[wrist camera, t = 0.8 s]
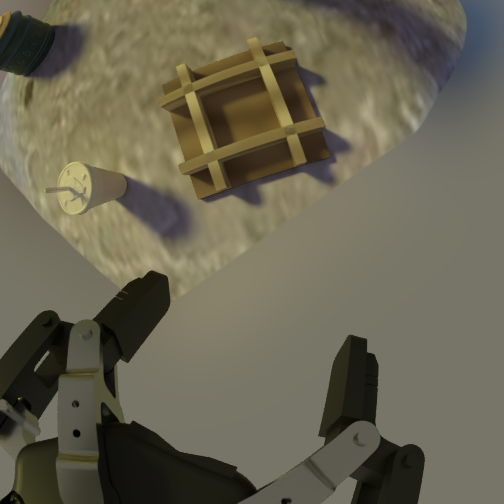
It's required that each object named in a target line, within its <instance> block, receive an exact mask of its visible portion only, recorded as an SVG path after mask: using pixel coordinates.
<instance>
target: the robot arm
mask: <svg viewBox="0 0 504 504" xmlns="http://www.w3.org/2000/svg"><path fill="white" fill-rule="evenodd" d="M169 306H170V292H169V283H168V277H167V276H166V275H163V274H161V273H158V272H155V271H153V270H152V271H149V272H148V273H147V274H146V275H145V276H144V277H143V278H137V279H135V280H133V281H131V282H129V283H128V284H127V285H126V286H125V287H124V288H123V289H122V290H121V292H119V293H118V294H117V295H116V297H114V298H113V299H112V300H111V301H110V302H109V303H108V304H107V305H106V306H105V307H104V308H103V310H101V312H100V313H99V314H98V315H97V316H96V317H95V318H94V319H93V320H88V319H87V320H81V321H79V322H78V323H76V324H73V323H68V322H64V321H61V320H60V318H59V316H58V314H57V313H56V312H54V311H51V310H48V311H44V312H42V313H40V314H39V315H38V316H37V317H36V318H35V319H34V320H33V321H32V322H31V323H30V325H29V326H28V327H27V328H26V329H25V330H24V331H23V333H22V334H21V335H20V336H19V337H18V339H17V340H16V341H15V342H14V343H13V344H12V345H11V347H10V348H9V349H8V350H7V352H6V353H5V354H4V356H3V357H2V358H1V359H0V445H1V446H2V447H3V448H4V449H5V451H6V452H7V453H8V454H9V455H10V456H11V457H12V458H13V459H14V460H15V461H16V463H15V464H16V465H15V480H14V484H13V488H12V490H11V492H10V493H9V494H8V495H7V496H6V497H4V498H3V499H2V500H0V504H320V503H322V502H323V501H324V500H325V499H327V498H328V497H329V496H331V495H332V494H333V492H334V491H335V489H336V487H337V486H338V485H339V484H340V483H341V482H343V481H344V480H345V479H346V478H347V477H348V476H349V477H352V478H354V479H356V480H358V481H357V484H356V488H355V491H354V495H353V498H352V501H351V504H417V503H418V498H419V493H420V488H421V483H422V477H423V470H424V462H425V457H424V453H423V451H422V450H421V448H420V447H418V446H416V445H414V444H408V445H405V446H403V447H400V446H398V445H396V444H393V443H391V442H389V441H387V440H386V439H384V438H383V437H382V436H381V435H380V433H379V431H378V429H377V428H376V424H375V417H376V406H377V391H378V388H377V386H378V379H377V378H378V363H377V360H376V357H375V355H374V354H372V353H368V352H367V339H365V338H361V337H357V336H354V335H349V336H348V337H347V339H346V340H345V342H344V344H343V346H342V347H341V349H340V350H339V352H338V354H337V356H336V357H335V360H334V362H333V366H332V371H331V376H330V382H329V388H328V393H327V398H326V403H325V408H324V413H323V417H322V422H321V426H320V431H319V435H318V436H320V437H325V443H324V446H323V447H322V448H320V449H319V450H317V451H316V452H315V453H313V454H312V455H311V456H309V457H308V458H307V459H305V460H304V461H302V462H301V463H300V464H298V465H297V466H295V467H294V468H292V469H291V470H289V471H288V472H286V473H285V474H283V475H282V476H280V477H278V478H277V479H275V480H273V481H272V482H270V483H268V484H267V485H265V486H263V487H262V488H260V489H258V490H256V488H255V486H254V485H253V484H252V483H251V482H250V481H249V480H248V479H247V478H246V477H245V476H243V475H242V474H241V473H239V472H237V471H236V469H237V467H236V466H233V465H230V464H227V463H224V462H221V461H218V460H216V459H213V458H210V457H205V456H198V455H193V454H187V453H183V452H179V451H177V450H176V449H175V448H173V447H172V446H171V445H170V444H168V443H167V442H166V441H164V439H162V438H161V437H160V436H159V435H158V434H156V433H155V432H153V431H151V430H149V429H147V428H146V427H144V426H142V425H140V424H138V423H137V422H135V421H132V422H131V424H126V423H125V421H124V416H123V412H122V408H121V406H120V402H119V392H118V377H117V364H116V363H117V362H118V361H119V359H121V360H123V361H125V362H127V363H128V362H129V361H130V360H131V358H132V357H133V356H134V354H135V353H136V351H137V350H138V349H139V348H140V346H141V345H142V344H143V342H144V341H145V340H146V338H147V337H148V336H149V334H150V333H151V332H152V331H153V329H154V328H155V327H156V325H157V324H158V323H159V321H160V320H161V319H162V318H163V316H164V315H165V314H166V312H167V311H168V308H169ZM47 351H49V352H50V353H49V355H48V356H47V357H46V359H45V360H44V361H43V362H42V364H41V365H40V366H39V367H38V369H37V370H36V371H35V372H34V368H35V366H36V365H37V363H38V362H39V361H40V359H41V358H42V357H43V356H44V354H45V353H46V352H47ZM57 391H58V437H56V438H52V439H47V440H43V441H38V442H35V438H36V436H38V435H40V428H39V424H38V420H39V418H40V417H41V415H42V413H43V412H44V410H45V409H46V407H47V406H48V404H49V403H50V401H51V400H52V398H53V397H54V395H55V394H56V392H57Z"/></svg>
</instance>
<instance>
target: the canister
mask: <svg viewBox="0 0 504 504" xmlns="http://www.w3.org/2000/svg"><path fill="white" fill-rule="evenodd" d="M53 38H54V28H53V27H52V26H51V25H50V24H48V23H44V22H42V21H40V20H37V19H35V18H33V17H31V16H30V15H22V13H21V11H15V12H14V13H12V14H11V12H10V11H8V12H6V13H4V14H3V15H2V16H0V70H2V71H6V72H10V73H14V74H15V75H27V74H29V73H31V72H32V71H33V70H34V69H35V68H36V67H37V66H38V65H39V64H40V62H41V61H42V60H43V58H44V57H45V55H46V54H47V52H48V50H49V48H50V46H51V44H52V41H53Z"/></svg>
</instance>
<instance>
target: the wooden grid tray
mask: <svg viewBox="0 0 504 504" xmlns="http://www.w3.org/2000/svg"><path fill="white" fill-rule="evenodd" d="M247 42H248V45H249V49H250V50H249V51H246V52H243V53H240V54H237V55H234V56H231V57H228V58H225V59H223V60H220V61H217V62H214V63H212V64H209V65H207V66H204V67H202V68H199V69H197V70H194V71H191V69H190V68H189V67H188V66H187V65H186V64H185V63H184V64H181V65H179V66H177V67H176V69H177V72H178V75H179V78H176V79H174V80H172V81H170V82H168V83H166V84H164V85H162V87H163V90H164V94H165V96H163V97H161V98H159V99H158V100H159V103H160V107H162V108H164V109H166V110H167V111H169V112H170V114H171V117H172V120H173V124H174V127H175V130H176V133H177V137H178V140H179V143H180V146H181V149H182V152H183V155H184V159H185V162H184V163H181V164H179V165H178V166H179V169H180V172H181V174H184V175H190V177H191V180H192V183H193V186H194V189H195V192H196V195H197V198H198V199H202V198H205V197H208V196H210V195H213V194H216V193H219V192H221V191H224V190H227V189H230V188H233V187H236V186H239V185H241V184H244V183H247V182H250V181H253V180H256V179H259V178H263V177H266V176H269V175H272V174H275V173H278V172H281V171H285V170H288V169H291V168H295V167H298V166H301V165H305V164H308V163H312V162H315V161H319V160H322V159H326V158H329V157H330V154H329V151H328V148H327V145H326V142H325V139H324V137H323V134H322V130H323V129H324V127H325V124H324V122H323V119H322V116H321V117H317V118H316V115H315V113H314V110H313V108H312V105H311V103H310V100H309V98H308V95H307V93H306V90H305V88H304V86H303V83H302V81H301V79H300V77H299V74H298V72H297V70H296V68H295V67H296V56H295V54H294V52H293V50H290V51H287V49H286V47H285V45H284V43H283V41H282V42H278V43H274V44H271V45H267V46H263V47H261V45H260V43H259V41H258V39H257V37H255V38H252V39H248V40H247Z"/></svg>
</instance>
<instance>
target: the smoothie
mask: <svg viewBox="0 0 504 504" xmlns="http://www.w3.org/2000/svg"><path fill="white" fill-rule="evenodd" d="M126 188H127V182H126V179H125V177H124V176H123V175H122V174H120V173H116V172H112V171H108V170H104V169H100V168H96V167H92V166H90V165H88V164H87V163H85V162H81V161H80V162H72V163H70V164H68V165H67V166H66V167H65V168H64V169H63V171H62V172H61V174H60V177H59V180H58V185H57V187H53V188H44V189H43V193H44V194H45V193H54V192H57V195H58V200H59V203H60V205H61V207H62V209H63V210H64V211H65V212H66V213H68V214H70V215H82V214H84V213H86V212H87V211H88V210H89V209H91V208H93V207H96V206H98V205H101V204H103V203H106V202H109V201H111V200H114V199H117V198H120V197H121V196H123V195H124V193H125V191H126Z"/></svg>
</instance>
